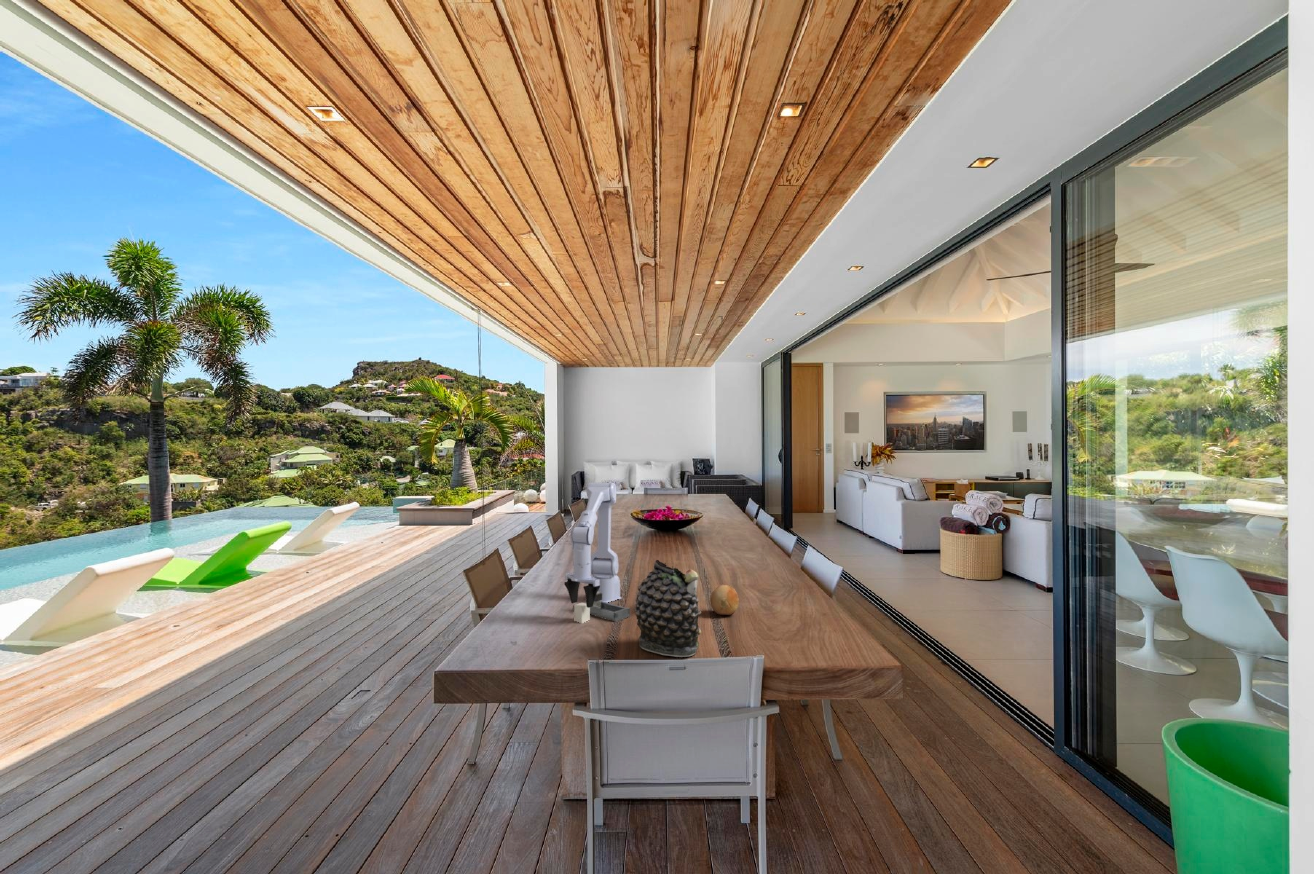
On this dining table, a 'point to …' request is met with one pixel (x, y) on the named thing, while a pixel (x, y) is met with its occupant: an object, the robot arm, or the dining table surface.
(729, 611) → the onion
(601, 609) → the rail
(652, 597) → the scaly pinecone figurine
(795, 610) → the dining table surface
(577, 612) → the cream rectangular block
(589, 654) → the dining table surface
